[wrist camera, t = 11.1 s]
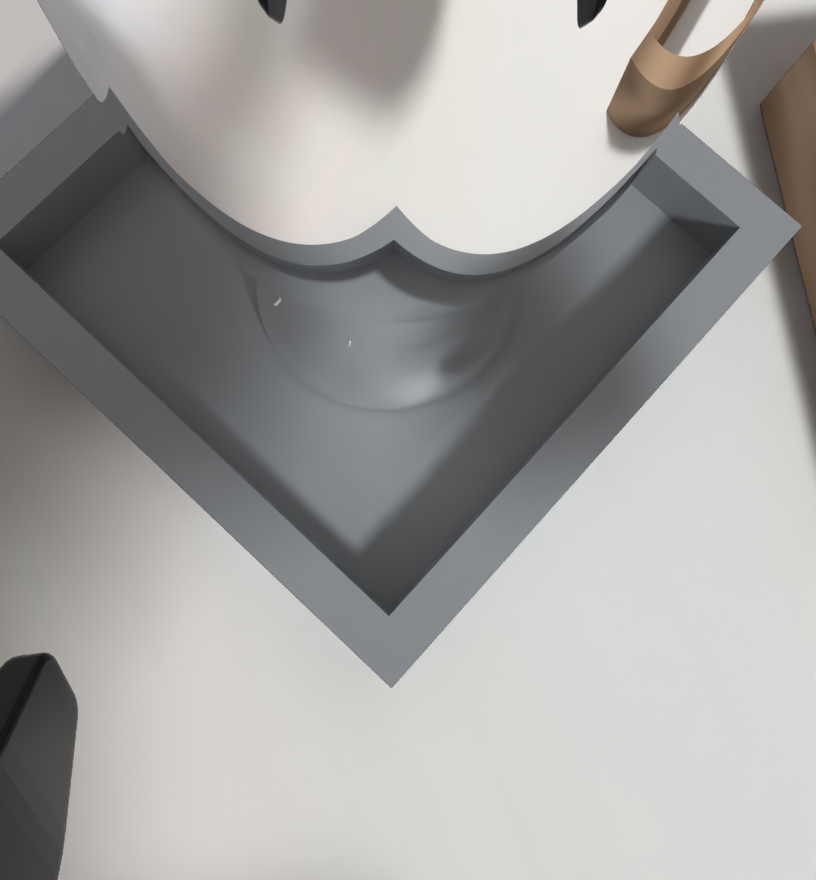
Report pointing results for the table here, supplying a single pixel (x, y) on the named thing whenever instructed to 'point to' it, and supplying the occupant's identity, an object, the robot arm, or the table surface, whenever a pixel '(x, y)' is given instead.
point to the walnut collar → (797, 157)
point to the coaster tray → (351, 428)
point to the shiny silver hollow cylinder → (395, 153)
